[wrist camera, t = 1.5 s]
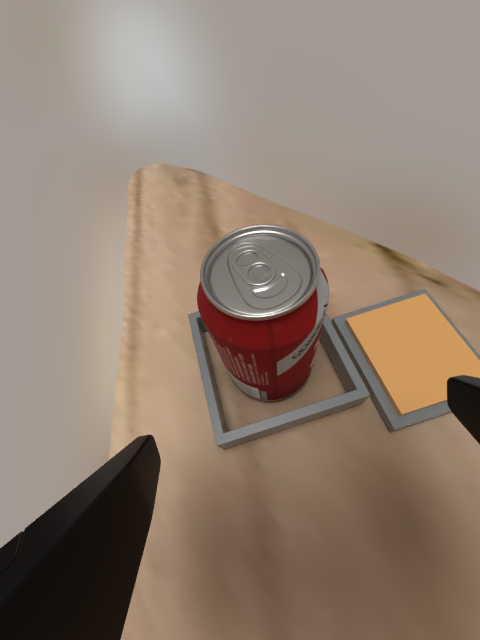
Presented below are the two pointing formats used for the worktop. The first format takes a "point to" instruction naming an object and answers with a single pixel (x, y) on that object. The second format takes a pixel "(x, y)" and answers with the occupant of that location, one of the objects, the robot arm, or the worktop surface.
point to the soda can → (264, 307)
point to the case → (351, 398)
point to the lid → (406, 356)
